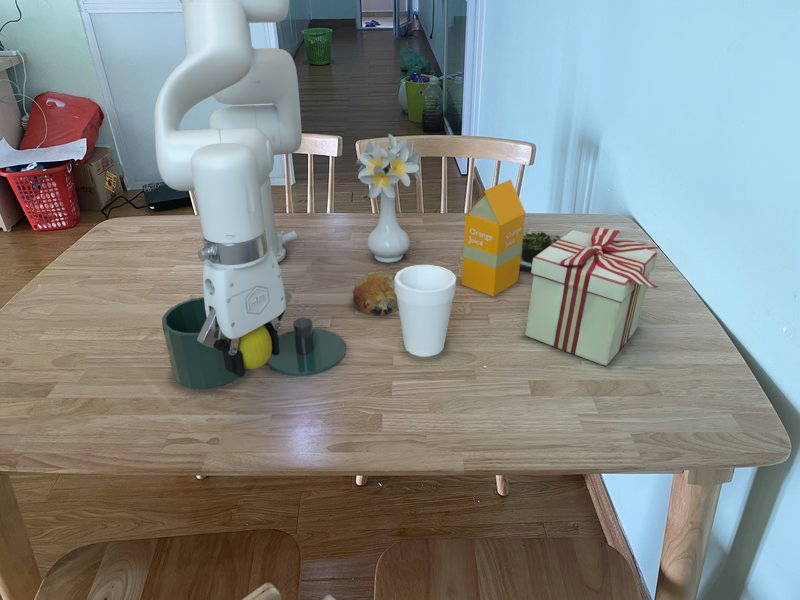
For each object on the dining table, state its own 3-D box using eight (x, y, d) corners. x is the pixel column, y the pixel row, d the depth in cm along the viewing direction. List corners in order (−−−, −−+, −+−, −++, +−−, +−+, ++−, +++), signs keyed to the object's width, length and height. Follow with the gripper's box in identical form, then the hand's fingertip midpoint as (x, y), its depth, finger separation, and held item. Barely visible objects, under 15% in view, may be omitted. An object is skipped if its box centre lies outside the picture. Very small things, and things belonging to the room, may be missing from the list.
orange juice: (461, 284, 119) (466, 186, 109) (486, 269, 124) (493, 175, 115) (494, 296, 114) (502, 195, 104) (519, 281, 120) (529, 183, 110)
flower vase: (359, 278, 121) (354, 155, 109) (360, 241, 137) (356, 130, 125) (423, 276, 122) (426, 154, 109) (417, 240, 138) (419, 130, 126)
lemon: (265, 382, 82) (258, 334, 78) (228, 377, 83) (219, 329, 79) (280, 359, 87) (274, 312, 83) (244, 355, 88) (237, 308, 84)
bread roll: (410, 317, 115) (416, 275, 114) (393, 321, 105) (400, 275, 104) (362, 309, 117) (367, 268, 117) (341, 312, 108) (347, 267, 107)
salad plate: (483, 240, 137) (484, 222, 135) (556, 233, 141) (558, 215, 138) (515, 278, 121) (517, 257, 119) (597, 269, 124) (600, 249, 122)
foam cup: (412, 371, 93) (412, 297, 87) (385, 342, 100) (384, 272, 94) (464, 354, 97) (467, 283, 91) (434, 328, 104) (436, 260, 98)
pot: (227, 342, 101) (218, 289, 96) (262, 371, 93) (254, 315, 89) (162, 368, 94) (149, 313, 89) (194, 402, 87) (182, 344, 82)
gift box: (633, 376, 92) (656, 275, 83) (520, 341, 101) (530, 246, 92) (658, 327, 104) (680, 235, 96) (556, 299, 113) (568, 212, 105)
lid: (315, 326, 105) (312, 295, 102) (361, 356, 97) (360, 323, 94) (250, 354, 98) (245, 321, 95) (294, 389, 89) (290, 355, 86)
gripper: (196, 279, 68) (220, 404, 77) (306, 230, 79) (316, 344, 89) (158, 261, 72) (185, 381, 81) (268, 217, 83) (281, 327, 93)
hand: (253, 360), depth 85 cm, fingers closed on lemon, 5 cm apart
